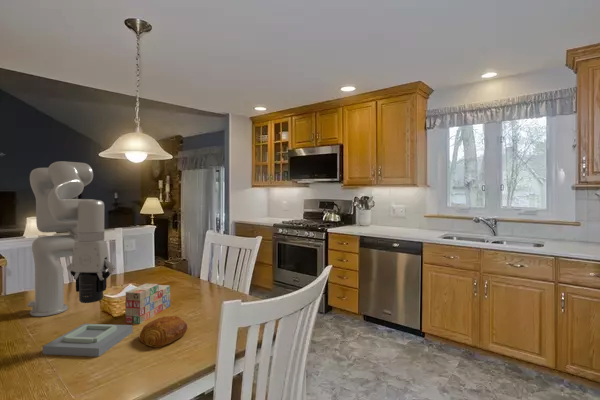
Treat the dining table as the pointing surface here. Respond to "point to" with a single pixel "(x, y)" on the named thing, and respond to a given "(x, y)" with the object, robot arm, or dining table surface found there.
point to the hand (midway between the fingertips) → (91, 290)
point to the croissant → (163, 331)
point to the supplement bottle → (89, 288)
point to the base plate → (88, 340)
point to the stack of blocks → (146, 302)
